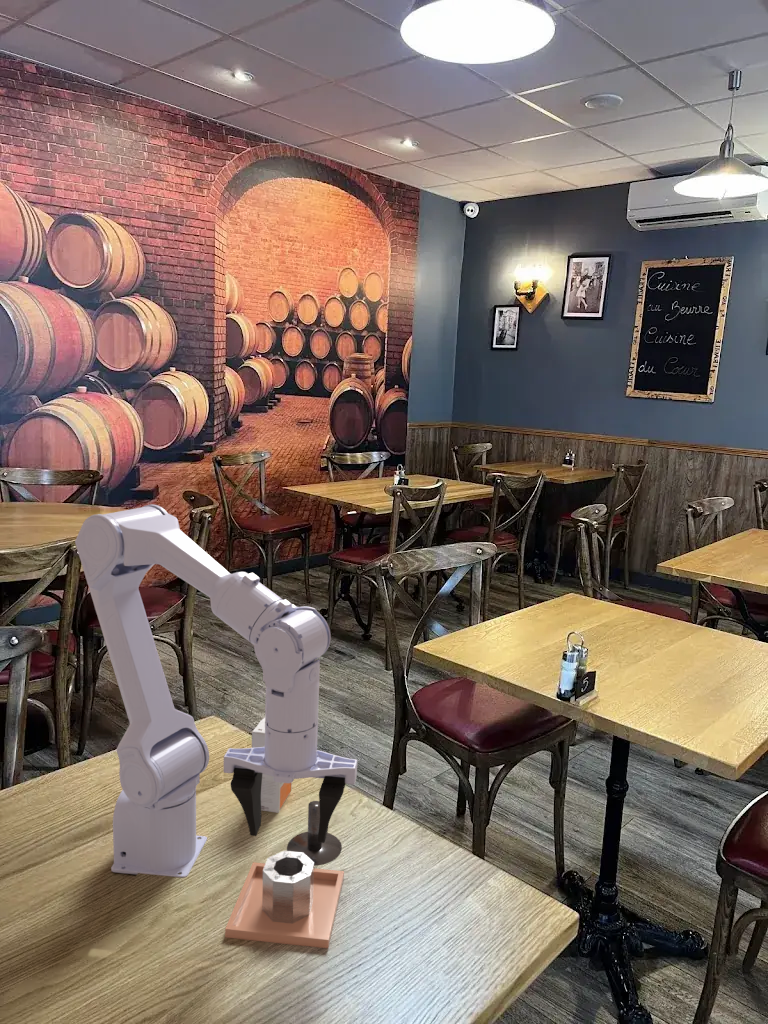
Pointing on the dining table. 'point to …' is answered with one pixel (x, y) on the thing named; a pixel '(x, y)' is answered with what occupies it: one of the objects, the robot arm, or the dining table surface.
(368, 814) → the dining table surface
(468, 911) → the dining table surface
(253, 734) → the skincare box
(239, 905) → the tray
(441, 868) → the dining table surface
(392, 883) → the dining table surface
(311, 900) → the octagonal pencil cup
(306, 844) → the stand
